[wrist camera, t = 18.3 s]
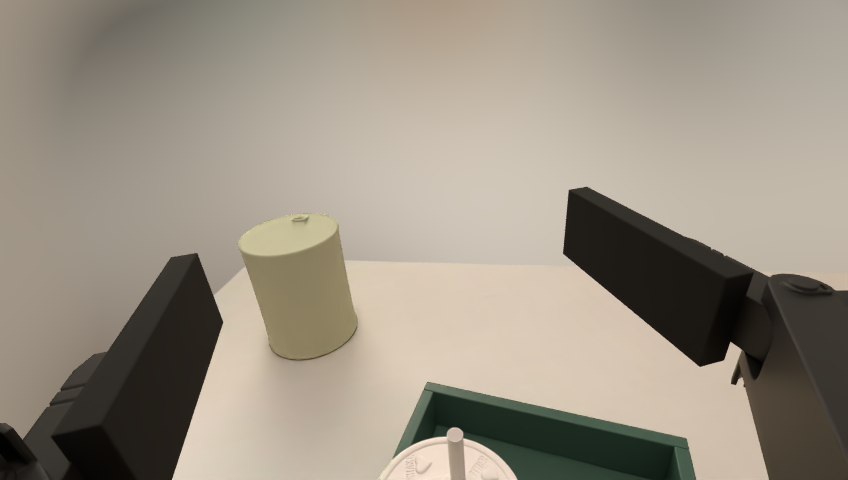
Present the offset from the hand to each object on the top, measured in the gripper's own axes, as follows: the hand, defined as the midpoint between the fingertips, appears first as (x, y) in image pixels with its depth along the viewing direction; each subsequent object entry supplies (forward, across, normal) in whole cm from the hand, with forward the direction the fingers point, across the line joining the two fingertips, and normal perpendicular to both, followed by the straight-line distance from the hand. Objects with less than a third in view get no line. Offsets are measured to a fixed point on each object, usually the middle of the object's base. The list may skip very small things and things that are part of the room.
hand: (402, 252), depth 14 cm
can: (+24, -7, -20) cm, 32 cm away
